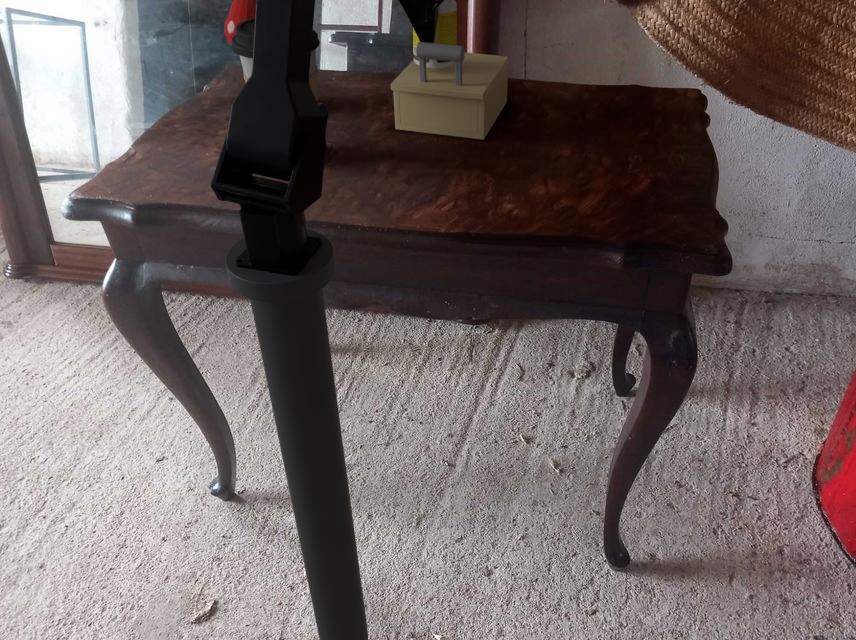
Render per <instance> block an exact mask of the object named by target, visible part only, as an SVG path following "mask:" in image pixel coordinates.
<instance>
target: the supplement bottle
mask: <svg viewBox="0 0 856 640" xmlns="http://www.w3.org/2000/svg"><path fill="white" fill-rule="evenodd" d="M457 37H458V4H457V1H456V0H445V1H444V2H443V3H442V4H441V5H440V6H439V11H438V19H437V27H436V35H435V42H434V43H436V44H446V45H457V46H458V43H457V42H458V38H457ZM418 42H420V40H419V38H418V36H417V34H416V32H415V30H414V28H413V27H412V53H413V54H412V55H413V56H412V57H413V60H414V62H415V63H416V64H417V65H419V58H418V57H417V55H416V48H417V44H418ZM454 63H455V62H453V61H443V60H433V59H426V68H445V67H449V66H452V65H453V64H454Z"/></svg>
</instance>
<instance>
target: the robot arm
mask: <svg viewBox="0 0 856 640" xmlns="http://www.w3.org/2000/svg"><path fill="white" fill-rule="evenodd" d="M444 1H445V0H398V2H399V3H400V6H401V7H402V9H403V11H404V13H405V14H406V17H407V18H408V20H409V22H410V24H411V26H412V29H413V28H414V30H415V32H416V34H417V36H418V38H419V40H420V42H425V43H434V42H435V35H436V27H437V19H438V11H439V6H440V5H441V4H442V3H443V2H444ZM315 9H316V0H256V12H255V30H254V47H253V64H252V73H251V76H250V77H249V79H248V80H247V82H246V83H244V85H243V86H242V88H241V89H240V90H239V92H238V94H237V95H236V97H235V98H234V99H233V101H232V102H231V107H230V108H231V109H230V114H229V121H228V127H227V133H226V136H225V139H224V142H223V144H222V148H221V151H220V153H219V157H218V159H217V163H216V166H215V169H214V172H213V175H212V178H211V181H210V187H211V189H212V191H213V193H214V196H215V197H216V198H217V200H218V201H221V202H230V203H233V204H237V205H239V208H240V209H239V210H238V213H239V216H240V217H239V218H240V222H241V228H242V234H243V238H244V239H245V244H246V249H245V250H244V251H243V253H242V254H241V255H240V256H239V257H238V258H237V259H236V260H235V264H236V266H237V267H241V268H247V269H253V270H259V271H265V272H271V273H277V274H283V275H289V276H296V275H298V274H299V272H300V271H301V270H302V269H303V267H304V266H305V265H306V264H307V262H308V261H309V260H310V259H311V257H312V256H313V255H314V254H315V252H316V251H317V250H318V249H319V247H320V246H321V245H322V239H321V238H317V237H310V236H307V229H308V228H307V221H306V215H305V211H306V210H308V209H309V208H310V207H311V206H312V205H314V203H316V202H317V201H318V200H319V199H321V198H322V195H323V183H324V169H325V159H326V158H325V156H326V150H327V147H328V146H327V137H326V136H327V125H328V121H329V110H328V105H327V104H326V103H324V102H319V101H318V102H317V100H316V98H315V96H314V93H313V91H312V89H311V87H310V84H309V71H310V59H311V46H312V34H313V30H314V21H315V20H314V19H315ZM256 175H257V176H256ZM261 176H262V177H261ZM264 177H265V178H264ZM274 179H275V180H274ZM278 180H280V181H278Z"/></svg>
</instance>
